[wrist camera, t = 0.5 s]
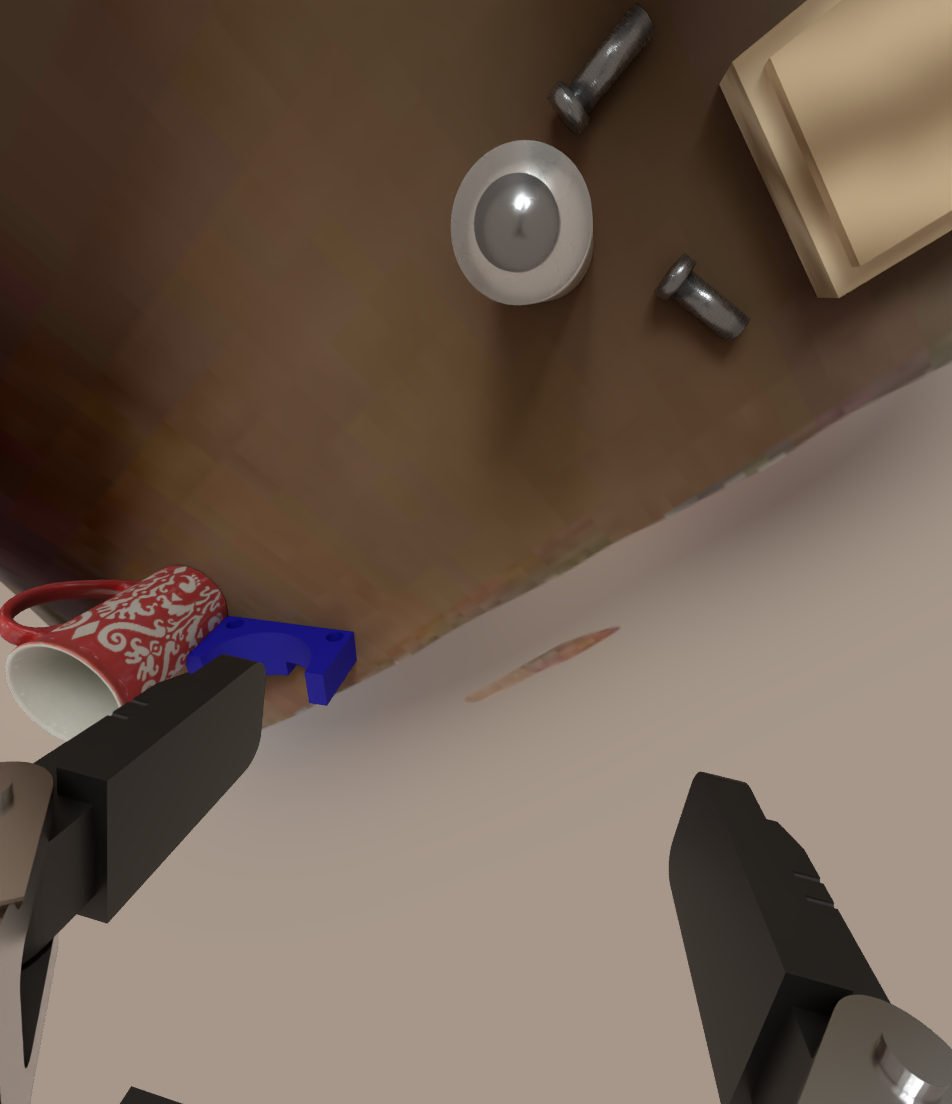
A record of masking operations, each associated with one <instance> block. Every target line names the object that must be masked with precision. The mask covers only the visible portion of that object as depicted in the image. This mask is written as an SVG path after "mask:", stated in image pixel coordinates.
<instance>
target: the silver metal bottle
mask: <svg viewBox="0 0 952 1104" xmlns="http://www.w3.org/2000/svg"><path fill="white" fill-rule="evenodd" d="M451 239H452V246H453V250H454V253H455V257H456V259H457V262H458V264H459V266H460V268H461V270H462V272H463V274H464V275H465V277H466V278H467V279H468V281H469V282H470V283H471V284H472V285H473V286H474V287H475V288H476V289H477V290H478V291H479V292H481V293H482V294H483V295H485V296H487V297H488V298H490V299H492V300H495V301H497V302H500V303H504V304H509V305H527V304H534V303H540V302H547V301H553V300H556V299H559V298H561V297H563V296H565V295H567V294H568V293H570V292H571V291H572V290H573V289H575V288H576V287H577V285H578V284H579V283H580V282H581V281H582V279H583V278H584V276H585V274H586V273H587V271H588V268H589V266H590V263H591V260H592V255H593V247H594V240H593V220H592V205H591V200H590V195H589V192H588V189H587V186H586V183H585V181H584V179H583V177H582V175H581V173H580V172H579V170H578V169H577V167H576V166H575V165H574V164H573V162H572V161H571V160H570V159H569V158H568V157H567V156H566V155H564V154H563V153H562V152H561V151H559V150H557V149H556V148H554V147H552V146H550V145H548V144H545V143H542V142H538V141H532V140H519V141H513V142H509V143H505V144H503V145H500V146H498V147H496V148H494V149H492V150H491V151H489V152H487V153H486V154H485V155H484V156H482V157H481V158H480V159H479V160H478V161H477V162H476V163H475V164H474V165H473V166H472V167H471V169H470V170H469V172H468V173H467V174H466V176H465V177H464V179H463V181H462V183H461V185H460V187H459V189H458V192H457V194H456V197H455V201H454V204H453V209H452V215H451Z"/></svg>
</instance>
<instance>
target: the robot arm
mask: <svg viewBox="0 0 952 1104" xmlns="http://www.w3.org/2000/svg"><path fill="white" fill-rule="evenodd" d="M265 681H266V670H265V666H264V665H263V664H262V663H260V662H256V661H252V660H248V659H244V658H239V657H235V656H231V655H227V654H222V655H219V656H217V657H216V658H214V659H213V660H212V661H210V662H209V663H207V664H206V665H204V666H203V667H201V668H200V669H198V670H197V671H196V672H194V673H193V674H190V673H185V674H182V675H179V676H176V677H173V678H170V679H167V680H164V681H161V682H159V683H156V684H155V685H153V686H151V687H150V688H148V689H147V690H145V691H144V692H142V693H141V694H139V695H138V696H136V697H135V698H133V700H132V702H127V703H125V704H124V705H122V706H121V707H119V708H118V709H116V710H115V711H113V713H112V715H111V716H110V715H107V716H105V717H104V718H102V719H101V720H99V721H98V722H96V723H95V724H93V725H91V726H90V727H88V728H87V729H85V730H84V731H82V732H81V733H79V734H78V735H76V736H75V737H73V738H72V739H70V740H68V741H67V742H65V743H64V744H62V745H61V746H59V747H58V748H56V749H55V750H54V751H52V752H50V753H48V754H47V755H45V756H44V757H42V758H41V759H39V760H38V761H36V762H35V763H33V764H32V763H27V762H0V1104H31V1096H32V1089H33V1083H34V1077H35V1072H36V1066H37V1061H38V1055H39V1050H40V1044H41V1039H42V1033H43V1028H44V1022H45V1016H46V1011H47V1006H48V1000H49V995H50V989H51V983H52V979H53V973H54V968H55V962H56V957H57V951H58V932H59V931H60V930H61V929H62V928H63V927H64V926H65V925H66V924H67V923H68V922H69V921H70V920H71V919H72V918H73V917H74V916H75V915H76V914H78V915H81V916H84V917H88V918H91V919H94V920H97V921H101V922H104V923H108V922H109V921H110V920H111V919H112V918H113V917H114V916H115V915H116V913H117V912H118V911H119V910H120V909H121V908H122V907H123V906H124V905H125V903H126V902H127V901H128V900H129V899H130V898H131V897H132V895H134V894H135V892H136V891H137V890H138V889H139V888H140V887H141V886H142V885H143V884H144V882H145V881H146V880H147V879H148V878H149V877H150V876H151V875H152V874H153V872H154V871H155V870H156V869H157V868H158V867H159V866H160V865H161V863H162V862H163V861H164V860H165V859H166V858H167V857H168V856H169V855H170V854H171V852H172V851H173V850H174V849H175V848H176V847H177V846H178V845H179V844H180V842H181V841H182V840H183V839H184V838H185V837H186V836H187V835H188V834H189V833H190V831H191V830H192V829H193V828H194V827H195V826H196V825H197V824H198V823H199V821H200V820H201V819H202V818H203V817H204V816H205V815H206V814H207V813H208V811H209V810H210V809H211V808H212V807H213V806H214V805H215V804H216V803H217V801H218V800H219V799H220V798H221V797H222V796H223V795H224V794H225V792H227V790H228V789H229V788H230V787H231V786H232V785H233V784H234V783H235V781H236V780H237V779H238V778H239V777H240V776H241V775H242V774H243V773H244V771H245V770H246V769H247V768H248V767H249V765H250V763H251V762H252V760H253V758H254V756H255V754H256V751H257V749H258V746H259V742H260V737H261V729H262V717H263V705H264V693H265ZM669 880H670V886H671V890H672V895H673V899H674V903H675V907H676V912H677V916H678V920H679V925H680V929H681V934H682V938H683V942H684V946H685V951H686V955H687V960H688V964H689V968H690V972H691V977H692V981H693V985H694V990H695V994H696V998H697V1003H698V1006H699V1011H700V1016H701V1020H702V1024H703V1029H704V1033H705V1037H706V1041H707V1046H708V1050H709V1054H710V1058H711V1063H712V1067H713V1071H714V1076H715V1080H716V1085H717V1089H718V1093H719V1098H720V1102H721V1104H952V1049H951V1048H950V1047H949V1046H948V1045H947V1044H946V1043H945V1042H944V1041H943V1040H942V1039H941V1038H940V1037H939V1036H938V1035H936V1034H935V1033H934V1032H933V1031H932V1030H931V1029H929V1028H928V1027H927V1026H925V1025H924V1024H923V1023H922V1022H920V1021H919V1020H917V1019H916V1018H914V1017H913V1016H911V1015H910V1014H908V1013H907V1012H905V1011H903V1010H901V1009H900V1008H898V1007H896V1006H894V1005H892V1004H891V1003H890V1001H889V1000H888V998H887V996H886V994H885V993H884V991H883V989H882V987H881V985H880V984H879V982H878V980H877V978H876V976H875V975H874V973H873V971H872V969H871V968H870V966H869V964H868V962H867V960H866V959H865V957H864V955H863V953H862V952H861V950H860V948H859V946H858V945H857V943H856V941H855V939H854V937H853V936H852V934H851V932H850V930H849V928H848V927H847V925H846V923H845V921H844V920H843V918H842V916H841V914H840V913H839V911H838V909H835V908H834V902H833V900H832V898H831V897H830V895H829V893H828V891H827V889H826V887H825V886H824V884H822V883H820V877H819V875H818V873H817V872H816V870H815V868H814V866H813V864H812V863H811V861H810V859H809V857H808V855H807V854H806V852H805V850H804V849H803V848H802V847H801V846H800V845H799V844H798V843H797V841H796V840H795V839H794V838H793V837H792V836H791V835H790V834H789V833H788V832H787V831H786V830H785V829H784V828H783V827H782V826H781V825H780V824H779V823H778V822H776V821H772V820H768V819H766V818H765V816H764V814H763V812H762V810H761V808H760V806H759V804H758V802H757V800H756V798H755V796H754V794H753V792H752V790H751V789H750V787H749V785H748V784H747V783H745V782H742V781H738V780H733V779H729V778H725V777H721V776H717V775H713V774H709V773H705V772H698V773H697V774H696V776H695V777H694V779H693V781H692V784H691V787H690V790H689V793H688V796H687V799H686V802H685V805H684V808H683V811H682V814H681V817H680V820H679V824H678V826H677V829H676V832H675V836H674V839H673V842H672V846H671V850H670V857H669ZM120 1104H181V1103H179V1102H176V1101H173V1100H170V1099H167V1098H164V1097H161V1096H158V1095H155V1094H152V1093H149V1092H146V1091H144V1090H140V1089H138V1088H135V1087H132V1086H131V1088H130V1089H129V1091H128V1092H127V1094H126V1095H125V1097H124V1098H123V1100H122V1102H121V1103H120Z"/></svg>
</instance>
